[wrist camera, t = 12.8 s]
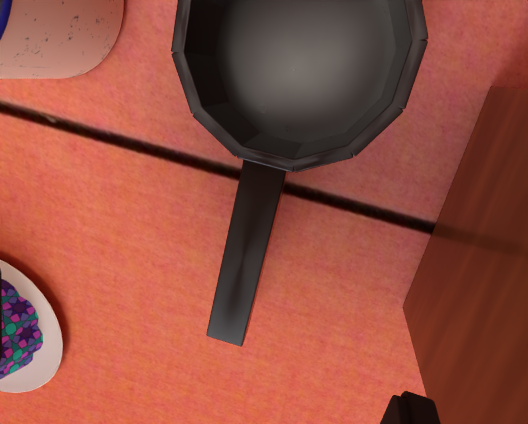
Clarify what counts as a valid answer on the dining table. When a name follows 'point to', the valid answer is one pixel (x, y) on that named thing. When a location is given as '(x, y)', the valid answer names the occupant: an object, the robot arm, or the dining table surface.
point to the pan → (288, 105)
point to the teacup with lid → (56, 36)
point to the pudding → (26, 334)
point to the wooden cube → (479, 277)
